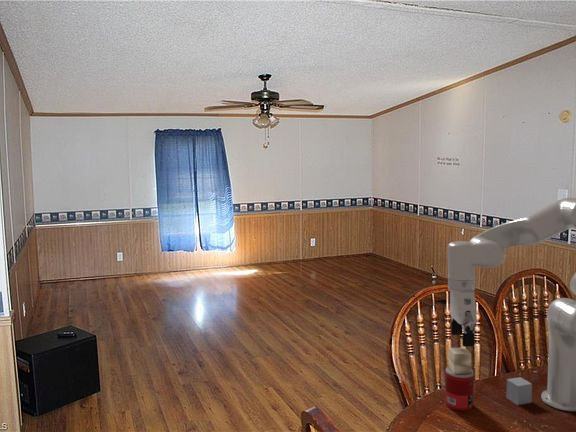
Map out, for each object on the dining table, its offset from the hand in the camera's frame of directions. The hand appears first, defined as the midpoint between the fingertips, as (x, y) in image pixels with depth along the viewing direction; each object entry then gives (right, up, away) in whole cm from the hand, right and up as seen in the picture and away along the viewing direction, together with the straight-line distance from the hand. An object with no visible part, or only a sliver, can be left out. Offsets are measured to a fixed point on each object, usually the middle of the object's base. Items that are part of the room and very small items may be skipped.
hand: (462, 340), depth 155 cm
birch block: (0, -9, +1) cm, 9 cm away
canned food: (0, -20, +2) cm, 20 cm away
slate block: (+19, -20, +5) cm, 27 cm away
